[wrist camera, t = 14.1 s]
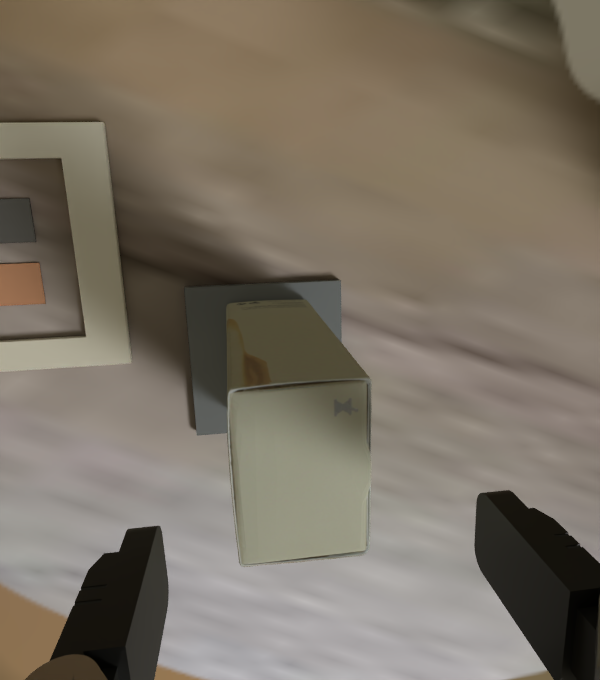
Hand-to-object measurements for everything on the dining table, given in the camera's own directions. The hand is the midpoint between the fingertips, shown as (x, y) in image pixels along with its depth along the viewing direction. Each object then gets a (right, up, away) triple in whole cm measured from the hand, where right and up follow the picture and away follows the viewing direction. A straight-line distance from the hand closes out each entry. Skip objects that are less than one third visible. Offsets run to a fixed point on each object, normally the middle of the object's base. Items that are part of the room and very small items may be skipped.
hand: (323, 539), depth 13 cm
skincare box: (-2, +4, +14) cm, 15 cm away
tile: (-2, +4, +15) cm, 15 cm away
